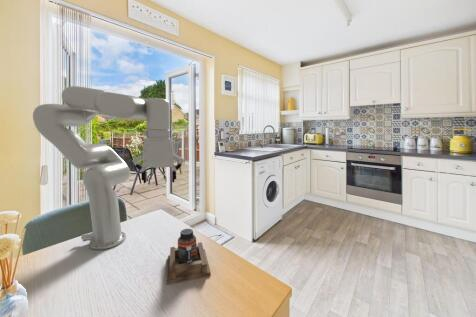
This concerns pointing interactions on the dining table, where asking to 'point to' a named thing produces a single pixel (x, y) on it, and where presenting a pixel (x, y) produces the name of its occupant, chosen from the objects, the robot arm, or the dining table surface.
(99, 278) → the dining table surface
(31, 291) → the dining table surface
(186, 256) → the supplement bottle
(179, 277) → the can holder
